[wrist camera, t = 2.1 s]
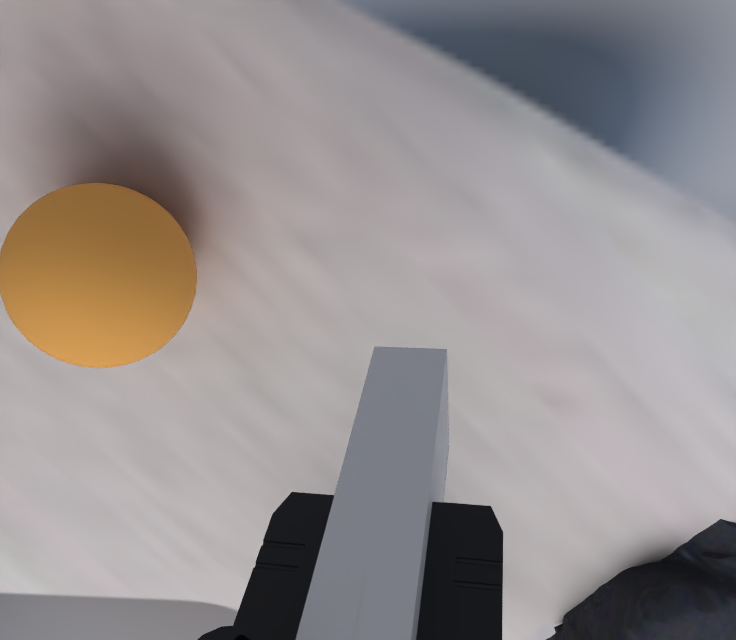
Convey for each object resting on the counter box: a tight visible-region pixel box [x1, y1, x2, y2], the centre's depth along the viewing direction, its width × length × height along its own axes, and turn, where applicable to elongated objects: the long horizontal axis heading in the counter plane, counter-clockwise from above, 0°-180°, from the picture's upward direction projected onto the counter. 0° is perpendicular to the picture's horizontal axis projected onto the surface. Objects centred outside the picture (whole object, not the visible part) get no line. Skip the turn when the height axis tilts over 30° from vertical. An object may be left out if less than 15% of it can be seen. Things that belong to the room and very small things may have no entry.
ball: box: [0, 183, 197, 368], centre depth 20 cm, size 6×6×6 cm
